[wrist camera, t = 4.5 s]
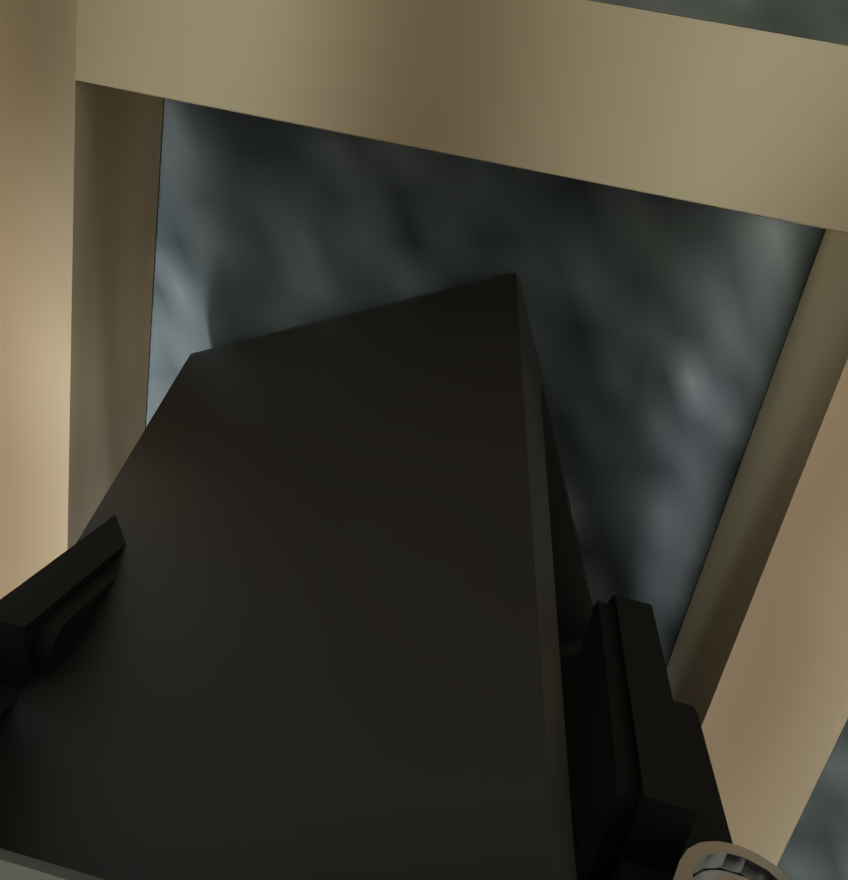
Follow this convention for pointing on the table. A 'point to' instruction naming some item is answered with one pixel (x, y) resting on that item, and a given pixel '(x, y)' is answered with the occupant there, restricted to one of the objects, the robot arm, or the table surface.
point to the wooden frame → (480, 138)
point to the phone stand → (324, 620)
